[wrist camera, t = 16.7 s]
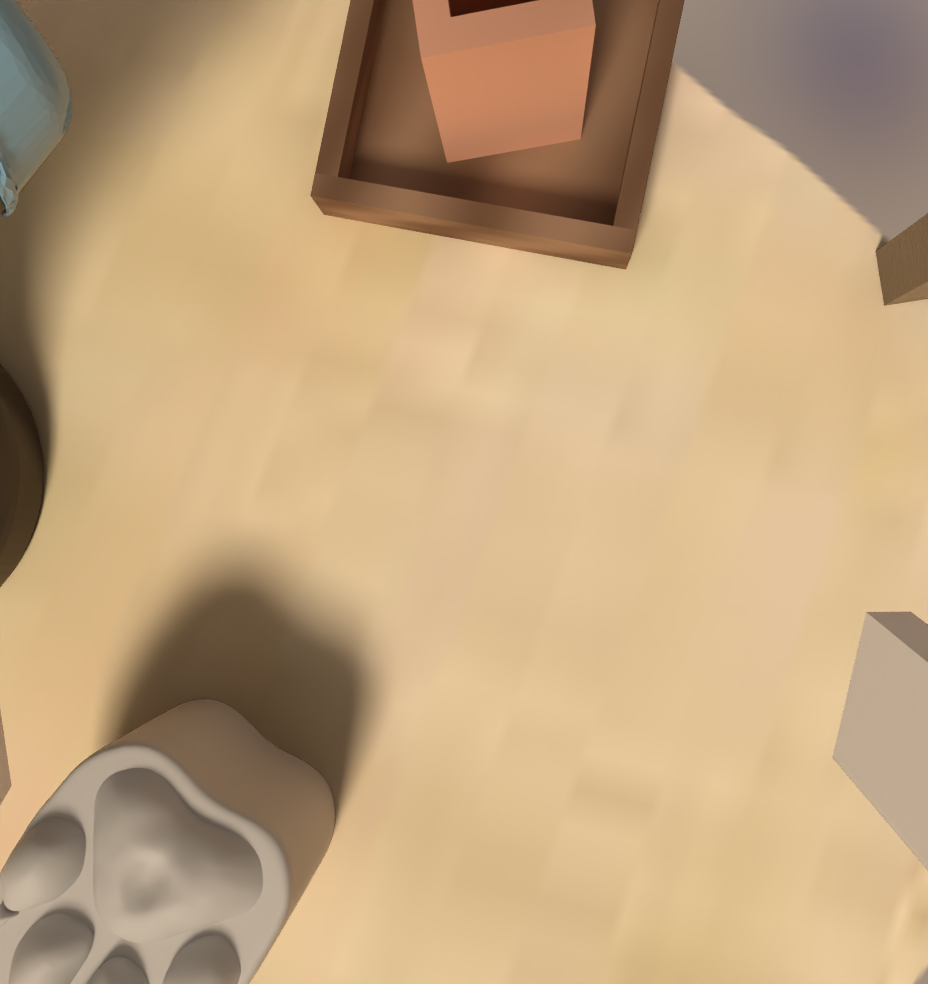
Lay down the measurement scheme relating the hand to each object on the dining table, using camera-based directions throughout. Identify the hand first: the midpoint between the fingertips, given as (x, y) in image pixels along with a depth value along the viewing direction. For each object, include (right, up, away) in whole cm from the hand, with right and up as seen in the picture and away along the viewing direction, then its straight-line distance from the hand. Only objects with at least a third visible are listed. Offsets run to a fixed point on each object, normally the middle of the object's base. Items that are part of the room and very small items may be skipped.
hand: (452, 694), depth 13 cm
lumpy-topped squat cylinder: (-12, -14, +27) cm, 32 cm away
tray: (+2, +21, +26) cm, 33 cm away
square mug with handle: (+2, +21, +25) cm, 33 cm away
